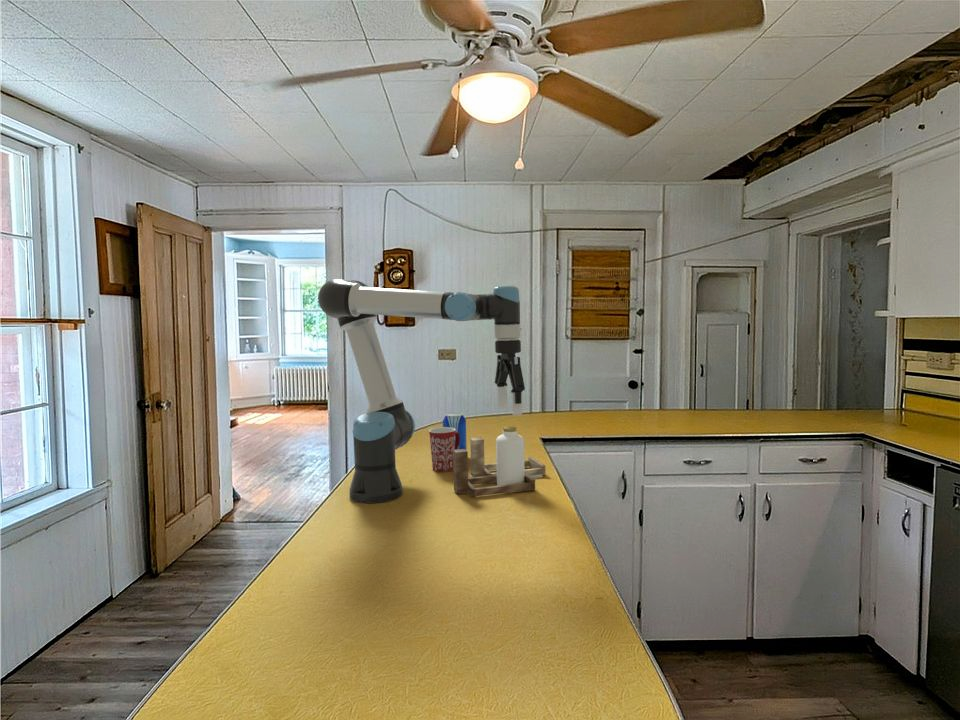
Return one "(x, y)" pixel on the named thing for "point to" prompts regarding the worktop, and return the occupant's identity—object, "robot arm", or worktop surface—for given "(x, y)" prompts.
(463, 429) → the beer can
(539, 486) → the worktop surface
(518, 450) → the potion bottle
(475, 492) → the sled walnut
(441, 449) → the mug
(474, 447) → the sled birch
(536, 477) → the lane divider
